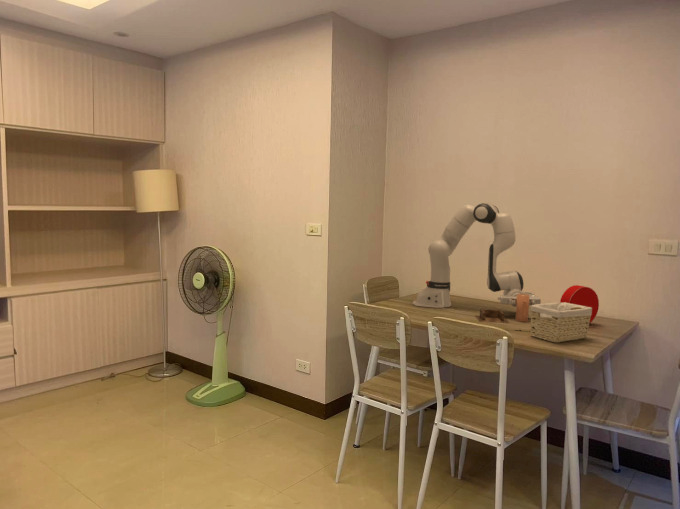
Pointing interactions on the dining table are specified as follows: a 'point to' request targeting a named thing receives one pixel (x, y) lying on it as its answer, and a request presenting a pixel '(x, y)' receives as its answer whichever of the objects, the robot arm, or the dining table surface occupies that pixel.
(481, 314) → the walnut stand
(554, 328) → the storage basket
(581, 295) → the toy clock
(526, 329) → the dining table surface
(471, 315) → the dining table surface
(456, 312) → the dining table surface
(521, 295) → the orange rectangular block
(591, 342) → the dining table surface
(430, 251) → the robot arm
